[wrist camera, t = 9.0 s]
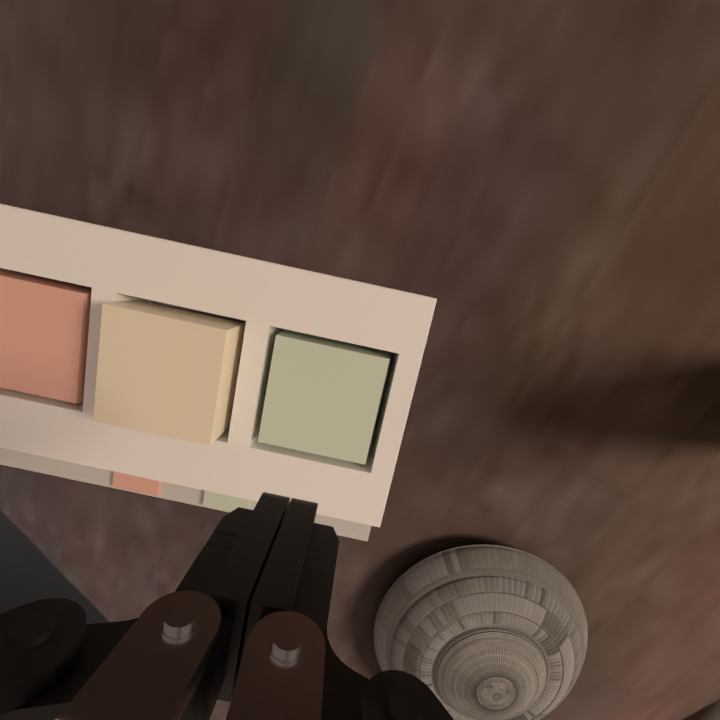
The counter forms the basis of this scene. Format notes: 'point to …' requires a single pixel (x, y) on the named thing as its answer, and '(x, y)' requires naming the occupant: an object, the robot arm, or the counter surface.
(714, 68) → the counter surface
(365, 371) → the sage key
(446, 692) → the flying saucer
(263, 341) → the keypad
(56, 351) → the coral key
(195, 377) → the sand key
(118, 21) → the counter surface
